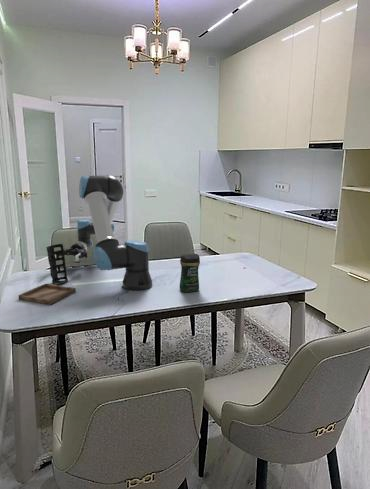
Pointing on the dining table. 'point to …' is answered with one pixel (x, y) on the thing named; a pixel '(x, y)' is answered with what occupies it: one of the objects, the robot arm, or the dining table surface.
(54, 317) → the dining table surface
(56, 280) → the holder
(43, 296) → the tray
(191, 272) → the coffee jar
